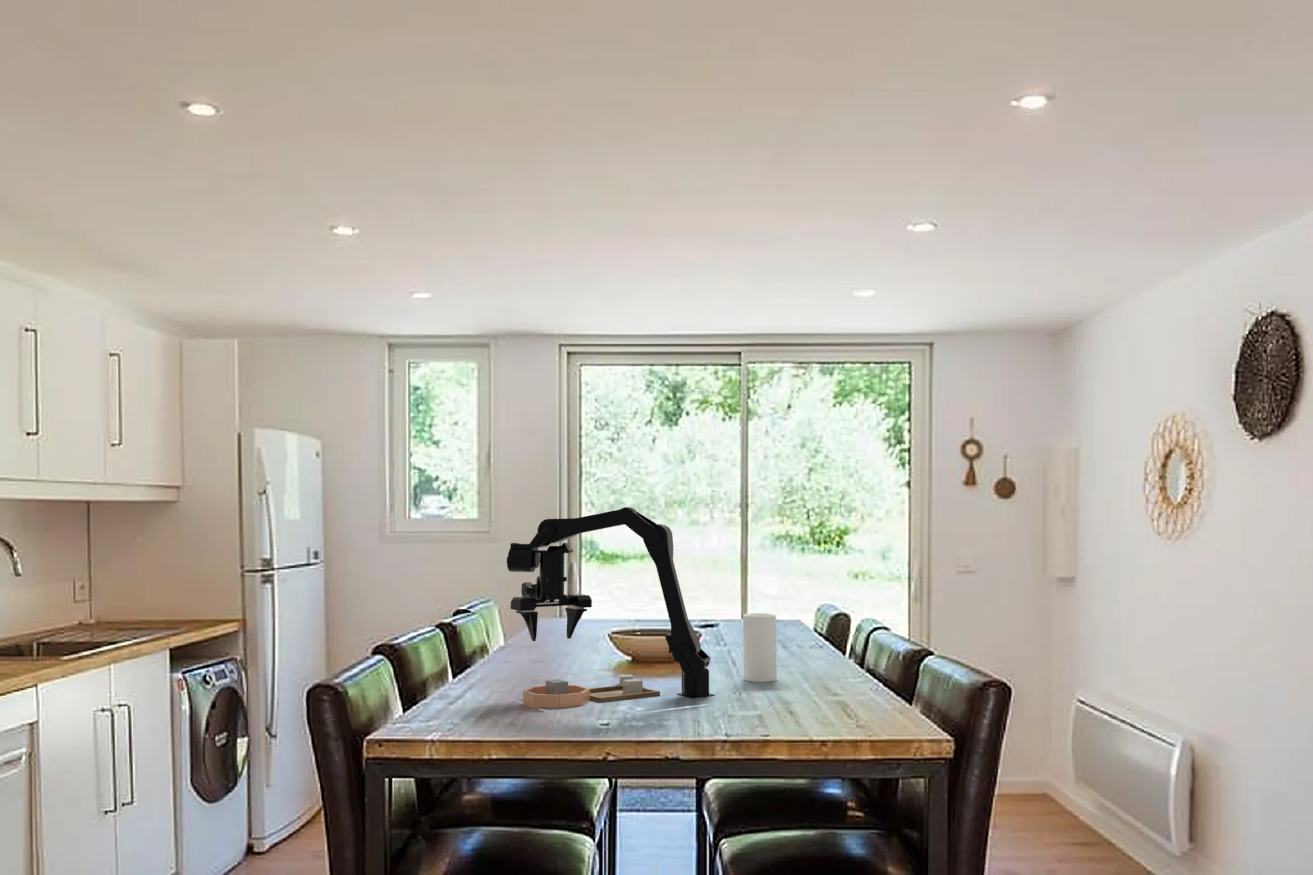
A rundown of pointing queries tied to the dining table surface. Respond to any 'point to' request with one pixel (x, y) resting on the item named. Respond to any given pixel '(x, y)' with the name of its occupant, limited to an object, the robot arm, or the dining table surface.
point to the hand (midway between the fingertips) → (551, 639)
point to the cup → (759, 647)
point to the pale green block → (624, 678)
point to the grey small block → (632, 686)
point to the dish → (555, 697)
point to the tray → (618, 694)
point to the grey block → (556, 687)
